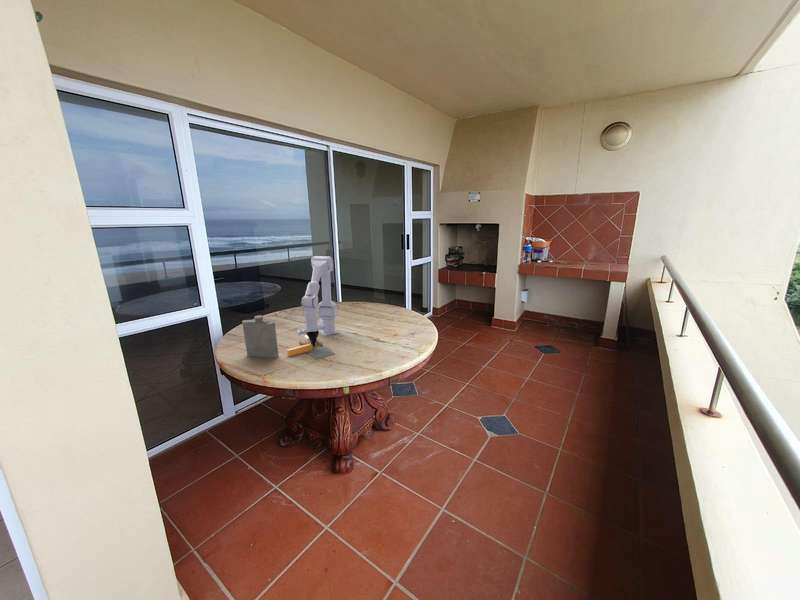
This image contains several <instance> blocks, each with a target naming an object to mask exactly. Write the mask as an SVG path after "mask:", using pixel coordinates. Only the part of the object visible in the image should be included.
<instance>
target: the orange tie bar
mask: <svg viewBox="0 0 800 600" xmlns="http://www.w3.org/2000/svg"><path fill="white" fill-rule="evenodd" d="M313 350H314V349H313V346H312V344H311V343H310V344H307V345H303V346H302V345H299V346H296V347H291V348H288V349H286V354H287V357H291V356H295V355H300V354H303V353H306V352H309V351H313Z"/></svg>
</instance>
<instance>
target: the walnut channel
mask: <svg viewBox="0 0 800 600" xmlns="http://www.w3.org/2000/svg"><path fill="white" fill-rule="evenodd" d="M298 343H299V345H300V346H303V345H307V344H305V341H304V340H302V339H300V340H298ZM316 343H317V345H318V346H319V347H323V342H322V341H321V340H319V339H318V338H317V340H316Z"/></svg>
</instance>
